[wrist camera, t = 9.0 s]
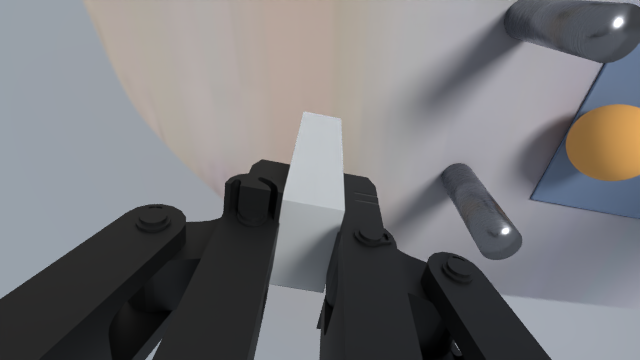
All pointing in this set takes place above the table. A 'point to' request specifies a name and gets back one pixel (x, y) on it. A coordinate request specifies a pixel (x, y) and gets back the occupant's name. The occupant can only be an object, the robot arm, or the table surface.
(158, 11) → the table surface
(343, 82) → the table surface
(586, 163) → the ball
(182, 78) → the table surface
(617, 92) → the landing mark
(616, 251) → the table surface
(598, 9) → the post
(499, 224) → the post
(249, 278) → the robot arm
